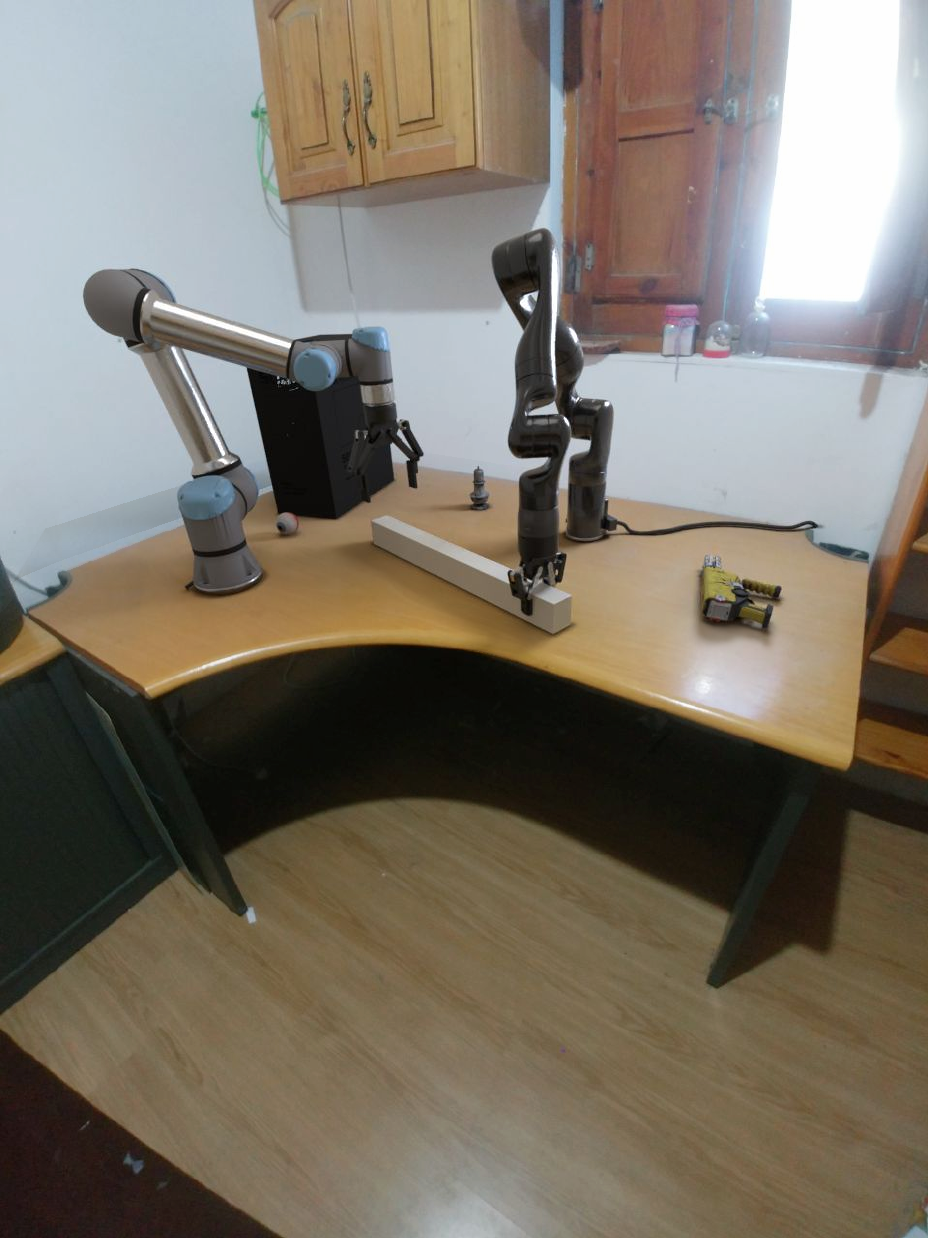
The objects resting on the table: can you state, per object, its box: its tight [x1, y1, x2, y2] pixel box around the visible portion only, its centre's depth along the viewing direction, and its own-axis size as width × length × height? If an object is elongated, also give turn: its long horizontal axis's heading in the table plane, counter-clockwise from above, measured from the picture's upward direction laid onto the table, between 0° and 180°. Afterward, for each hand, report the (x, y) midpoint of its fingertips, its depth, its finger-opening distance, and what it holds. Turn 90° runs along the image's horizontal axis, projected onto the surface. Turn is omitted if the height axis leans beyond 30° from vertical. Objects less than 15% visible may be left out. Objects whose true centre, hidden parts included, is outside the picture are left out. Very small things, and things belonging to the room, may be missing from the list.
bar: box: [370, 515, 573, 635], centre depth 135 cm, size 63×5×6 cm, turn 40°
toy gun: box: [700, 553, 783, 630], centre depth 120 cm, size 5×24×15 cm
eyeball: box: [275, 512, 300, 536], centre depth 163 cm, size 6×6×6 cm
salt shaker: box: [469, 465, 491, 510], centre depth 173 cm, size 6×6×12 cm
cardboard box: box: [245, 333, 395, 520], centre depth 181 cm, size 38×20×45 cm, turn 159°
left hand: (390, 494), depth 146 cm, fingers open, 13 cm apart
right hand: (537, 608), depth 118 cm, fingers closed on bar, 5 cm apart
